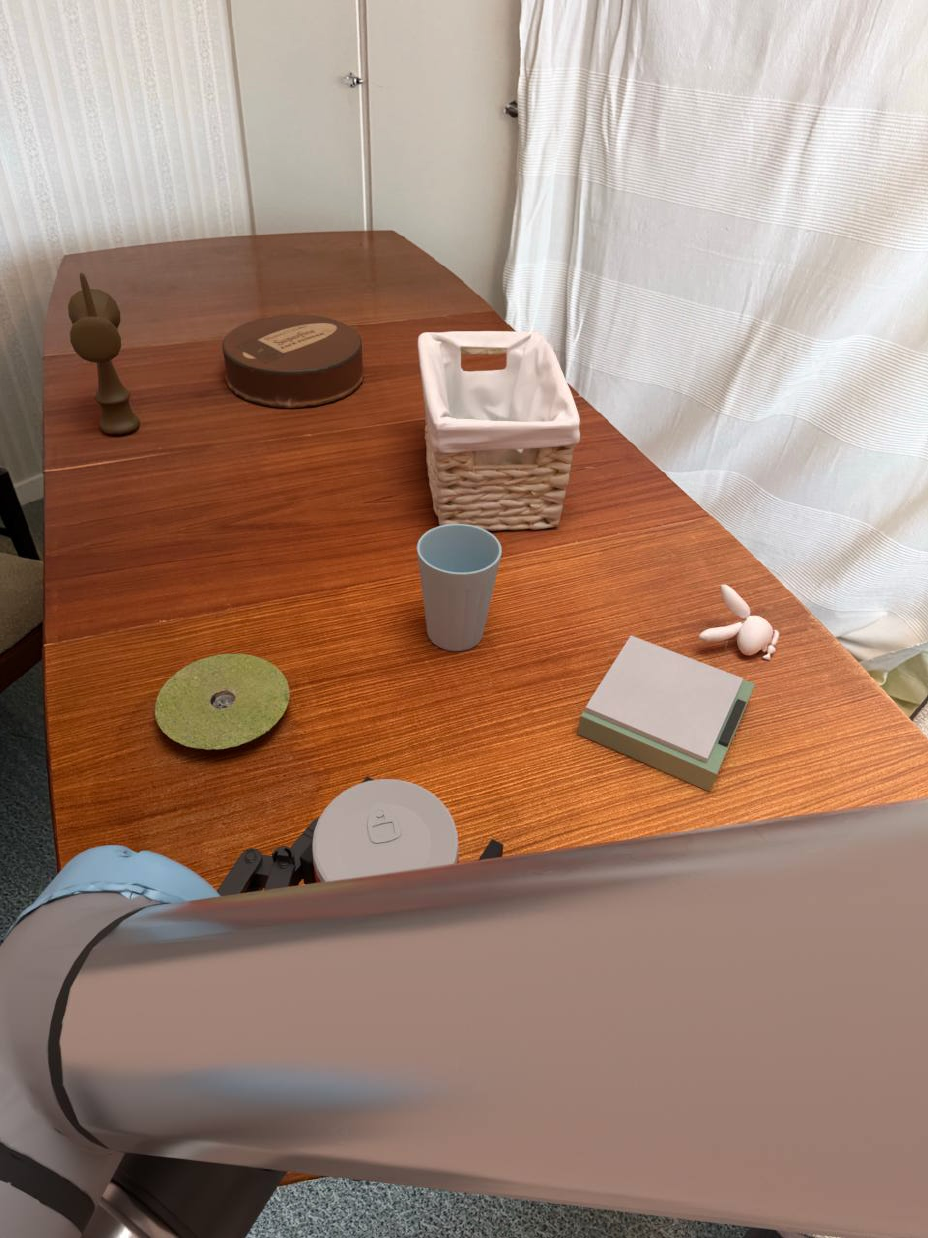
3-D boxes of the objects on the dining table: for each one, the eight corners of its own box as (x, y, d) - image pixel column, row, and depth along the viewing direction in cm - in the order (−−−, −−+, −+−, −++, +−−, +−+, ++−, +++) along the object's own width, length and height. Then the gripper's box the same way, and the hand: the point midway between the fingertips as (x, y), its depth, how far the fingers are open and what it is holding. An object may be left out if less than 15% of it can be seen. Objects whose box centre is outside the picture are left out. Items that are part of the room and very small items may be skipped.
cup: (399, 631, 82) (399, 545, 75) (454, 597, 86) (458, 513, 79) (454, 671, 78) (459, 584, 71) (508, 633, 82) (518, 548, 75)
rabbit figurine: (771, 677, 79) (703, 634, 78) (748, 678, 83) (683, 637, 82) (796, 624, 80) (730, 580, 79) (772, 627, 84) (709, 586, 83)
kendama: (142, 409, 114) (107, 257, 100) (146, 442, 107) (110, 284, 94) (96, 414, 112) (54, 260, 99) (97, 448, 105) (53, 288, 92)
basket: (569, 538, 95) (587, 420, 85) (428, 542, 93) (429, 422, 83) (534, 435, 113) (546, 328, 103) (415, 436, 111) (415, 328, 101)
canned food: (411, 865, 54) (410, 756, 47) (479, 965, 49) (489, 861, 42) (304, 922, 51) (285, 816, 44) (365, 1036, 46) (355, 937, 39)
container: (282, 423, 112) (277, 380, 108) (199, 375, 122) (192, 334, 118) (391, 380, 123) (391, 340, 119) (307, 339, 133) (304, 300, 129)
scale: (748, 701, 76) (757, 678, 74) (710, 792, 68) (719, 769, 66) (626, 654, 81) (632, 631, 79) (576, 734, 73) (581, 710, 71)
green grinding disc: (308, 678, 76) (306, 663, 75) (264, 774, 68) (261, 759, 67) (192, 659, 77) (189, 644, 76) (135, 751, 69) (130, 735, 68)
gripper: (4, 1116, 40) (299, 789, 55) (356, 1408, 33) (584, 939, 48) (-54, 1052, 35) (287, 712, 50) (345, 1379, 28) (603, 866, 43)
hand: (432, 823), depth 49 cm, fingers closed on canned food, 8 cm apart
